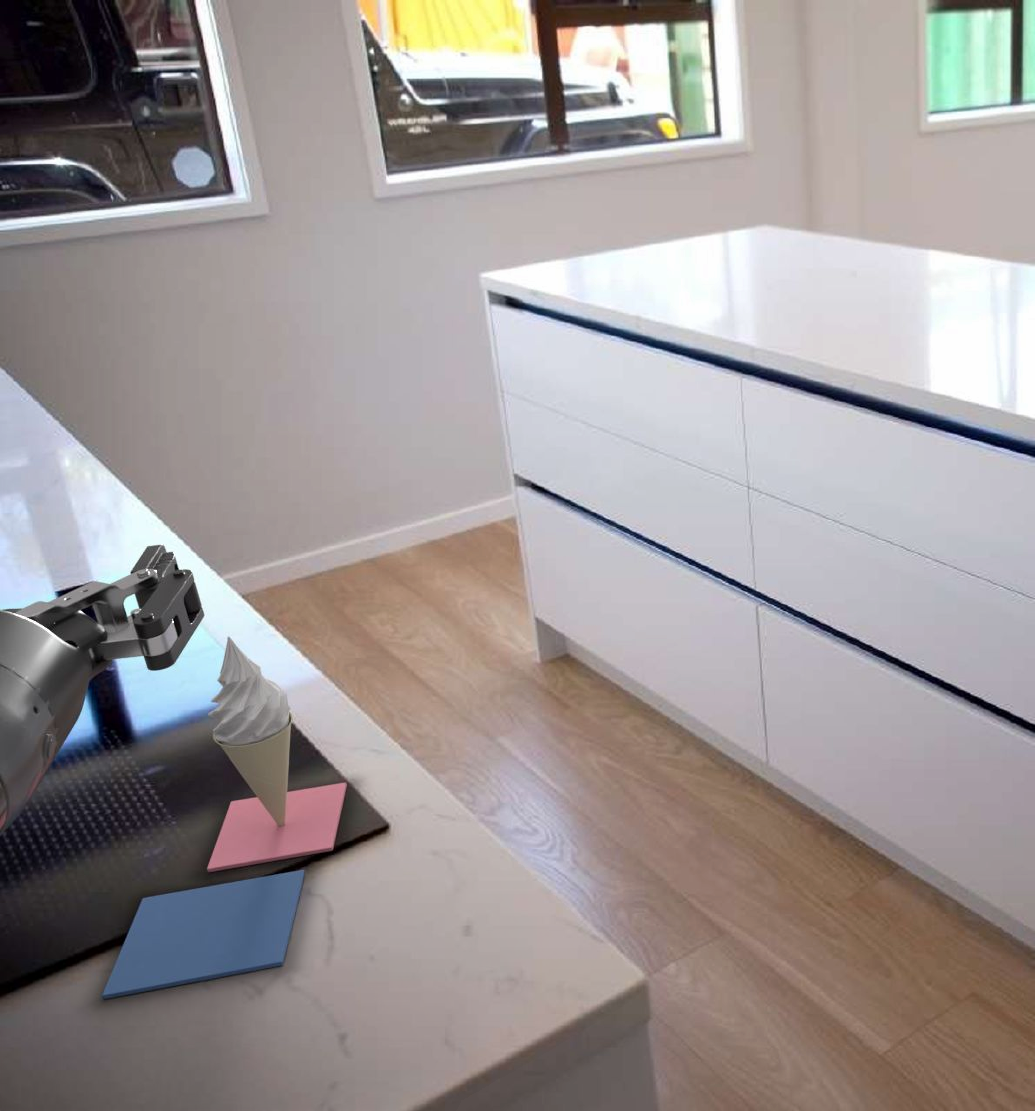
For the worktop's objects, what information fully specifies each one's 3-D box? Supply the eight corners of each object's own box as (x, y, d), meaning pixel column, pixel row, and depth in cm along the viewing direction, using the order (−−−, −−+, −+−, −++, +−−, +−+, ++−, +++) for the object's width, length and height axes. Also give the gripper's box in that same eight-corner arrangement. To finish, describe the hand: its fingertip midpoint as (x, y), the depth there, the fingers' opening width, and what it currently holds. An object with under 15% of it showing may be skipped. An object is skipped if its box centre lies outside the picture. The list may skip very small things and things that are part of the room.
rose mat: (207, 872, 84) (206, 869, 84) (231, 804, 92) (231, 801, 91) (332, 850, 86) (331, 847, 86) (347, 785, 93) (346, 782, 93)
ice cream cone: (262, 856, 85) (204, 662, 79) (230, 827, 88) (172, 638, 82) (332, 820, 89) (282, 632, 82) (299, 794, 92) (248, 610, 86)
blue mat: (103, 999, 74) (101, 995, 74) (143, 901, 82) (142, 898, 82) (282, 965, 76) (281, 961, 76) (305, 873, 84) (304, 869, 84)
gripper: (112, 629, 51) (201, 487, 65) (-289, 683, 48) (-104, 523, 63) (162, 783, 54) (236, 616, 69) (-212, 842, 51) (-53, 655, 66)
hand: (73, 572), depth 66 cm, fingers open, 8 cm apart
